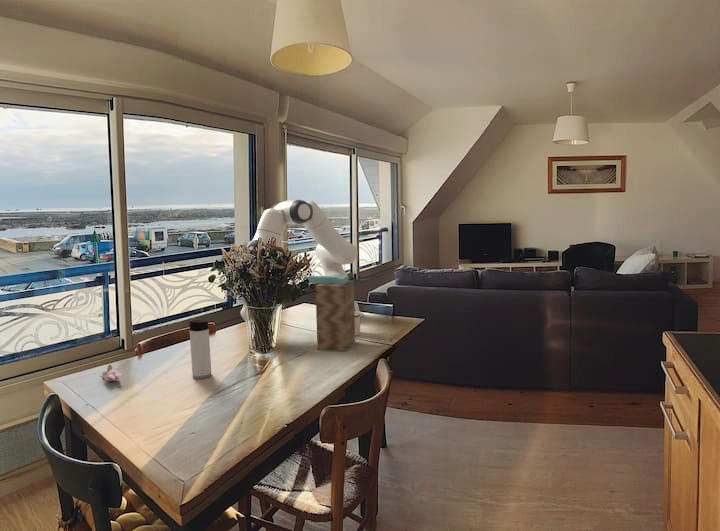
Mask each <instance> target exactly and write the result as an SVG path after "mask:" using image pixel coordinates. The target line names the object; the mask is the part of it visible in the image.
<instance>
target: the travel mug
mask: <svg viewBox="0 0 720 531" xmlns="http://www.w3.org/2000/svg"><path fill="white" fill-rule="evenodd" d="M188 324H189V326H188V327H189V341H190V343H189V344H190V355H191V356H190V357H191V371H192V375H191V376H192V378H193V379H195V380H203V379H208V378H210V377H211V376H212V360H211V346H210V345H211V344H210V328H209V327H210V326H209V320H200V319H199V320H197V319H196V320H190V321H189V322H188Z"/></svg>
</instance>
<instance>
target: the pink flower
mask: <svg viewBox="0 0 720 531" xmlns="http://www.w3.org/2000/svg"><path fill="white" fill-rule="evenodd" d="M99 377H100V378H103V379H104V381H106V382H110V381H114V382H115V381H117V380H120V379H121V377H122V373H121V372H120V371H117V370H113V366H112V364H110V363H108V366H107V370H105V371H102V374H101V375H99Z"/></svg>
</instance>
